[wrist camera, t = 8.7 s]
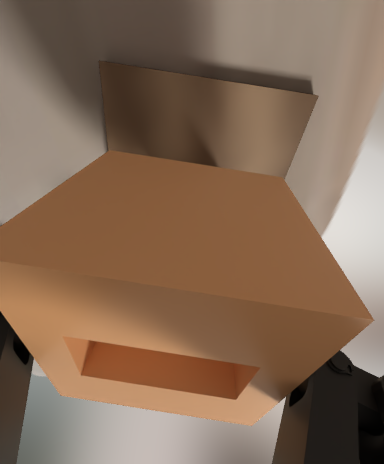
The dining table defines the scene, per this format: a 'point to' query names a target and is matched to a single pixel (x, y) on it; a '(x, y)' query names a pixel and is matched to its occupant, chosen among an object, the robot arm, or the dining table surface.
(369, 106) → the dining table surface
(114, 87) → the key base
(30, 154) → the dining table surface
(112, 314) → the orange hollow rectangular tube
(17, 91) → the dining table surface
